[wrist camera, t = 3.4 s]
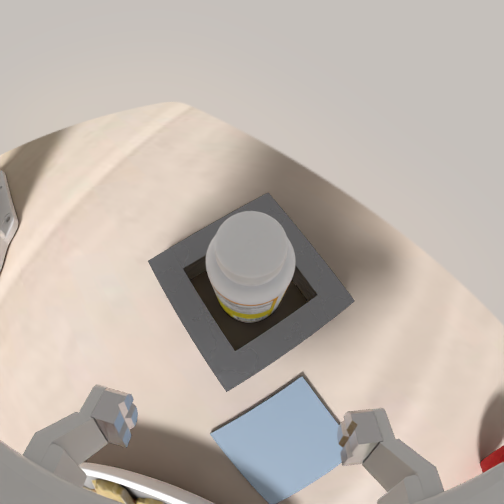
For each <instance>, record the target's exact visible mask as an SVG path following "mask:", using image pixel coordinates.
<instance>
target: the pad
mask: <svg viewBox="0 0 504 504" xmlns="http://www.w3.org/2000/svg"><path fill="white" fill-rule="evenodd" d="M338 427H339V425H338V423H337V422H336V421H335V419H334V418H333V417H332V416H331V414H330V413H329V412H328V410H327V409H326V408H325V406H324V405H323V404H322V402H321V401H320V400H319V398H318V397H317V396H316V394H315V393H314V392H313V390H312V389H311V387H310V386H309V385H308V383H307V382H306V381H305V379H304V378H303V377H302V376H301V377H299V378H298V379H297V380H295V381H294V382H292V383H291V384H290V385H288V386H287V387H285V388H284V389H282V390H281V391H279V392H278V393H276V394H275V395H273V396H272V397H270V398H269V399H267V400H266V401H264V402H263V403H261V404H259V405H258V406H256V407H255V408H253V409H251V410H250V411H248V412H247V413H245V414H243V415H242V416H240V417H238V418H237V419H235V420H233V421H231V422H230V423H228V424H226V425H224V426H223V427H221V428H219V429H217V430H215V431H214V432H212V433H210V435H211V436H212V437H213V439H214V440H215V441H216V443H217V444H218V445H219V447H220V448H221V449H222V450H223V452H224V453H225V454H226V455H227V457H228V458H229V459H230V460H231V462H232V463H233V464H234V465H235V466H236V468H237V469H238V470H239V471H240V472H241V474H242V475H243V476H244V477H245V478H246V479H247V480H248V482H249V483H250V484H251V485H252V486H253V487H254V488H255V489H256V490H257V492H258V493H259V494H260V495H261V496H262V497H263V498H264V499H265V500H266V501H267V502H268V503H269V504H277V503H279V502H280V501H282V500H284V499H286V498H288V497H289V496H291V495H293V494H295V493H296V492H298V491H300V490H301V489H303V488H305V487H306V486H308V485H310V484H311V483H313V482H314V481H316V480H317V479H319V478H320V477H322V476H323V475H325V474H326V473H328V472H329V471H331V470H332V469H333V468H335V467H336V466H338V465H339V464H340V463H342V461H341V456H340V452H341V450H342V448H343V447H341V446H340V445H339V444H338V439H337V432H338Z"/></svg>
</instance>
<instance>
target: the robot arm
mask: <svg viewBox="0 0 504 504" xmlns="http://www.w3.org/2000/svg"><path fill="white" fill-rule="evenodd" d="M17 227H18V219H17V216H16V212H15V209H14V205H13V202H12V198H11V195H10V191H9V187H8V183H7V178H6V174H5V173H4V172H3V171H2V170H1V171H0V271H1V268H2V265H3V261H4V258H5V254H6V250H7V247H8V245H9V243H10V241H11V239H12V238H13V236H14V234H15V232H16V230H17ZM132 402H133V397H132V395H131V394H129V393H125V392H121V391H118V390H114V389H111V388H108V387H104V386H101V385H95V386H94V387H93V389H92V390H91V392H90V394H89V396H88V397H87V399H86V401H85V403H84V404H83V406H82V408H81V410H80V412H79V413H78V412H75V413H73V414H71V415H69V416H67V417H65V418H63V419H61V420H59V421H58V422H56V423H54V424H52V425H50V426H48V427H46V428H44V429H42V430H40V431H38V432H36V433H35V434H34V436H33V438H32V439H31V441H30V443H29V445H28V446H27V448H26V450H25V452H24V454H23V455H21V454H20V453H18V452H17V451H15V450H14V449H12V448H11V447H9V446H8V445H7V444H5V443H4V442H2V441H1V440H0V504H124V503H121V502H118V501H116V500H113V499H110V498H107V497H105V496H102V495H99V494H97V493H94V492H92V491H90V490H87V489H85V488H83V486H84V483H85V481H86V478H87V475H86V473H85V472H84V471H83V470H82V469H81V468H80V467H79V465H80V464H81V463H83V462H84V461H85V460H87V459H88V458H89V457H91V456H92V455H93V454H95V453H96V452H97V451H99V450H100V449H101V448H103V447H104V446H105V445H107V444H108V442H109V443H112V444H116V445H119V446H123V447H126V448H127V446H128V443H129V441H130V438H131V433H130V429H132V428H134V427H135V425H136V422H137V416H138V413H137V408H136V406H135V405H134V404H133V403H132ZM337 439H338V444H339V445H340V446H341V447H343V448H342V450H341V452H340V456H341V461H342V466H346V465H355V464H362V465H363V466H364V467H365V468H366V470H367V471H368V472H369V473H370V474H371V475H372V476H373V477H374V478H375V479H376V480H377V481H378V482H379V483H380V484H381V486H382V487H383V488H384V489H385V490H386V491H387V493H386V494H384V495H383V496H382V497H380V498H379V499H378V501H377V504H504V462H502V463H499V464H498V465H496V466H494V467H492V468H491V469H489V470H487V471H485V472H484V473H482V474H480V475H478V476H476V477H474V478H472V479H470V480H468V481H466V482H464V483H462V484H460V485H458V486H456V487H453V488H451V489H449V490H447V491H444V489H443V486H442V483H441V480H440V477H439V474H438V471H437V469H436V467H435V466H434V465H432V464H431V463H430V462H428V461H427V460H426V459H424V458H423V457H422V456H420V455H419V454H418V453H416V452H415V451H414V450H413V449H411V448H410V447H409V446H407V445H406V444H405V443H403V442H402V441H401V440H400V439H395V436H394V433H393V431H392V428H391V425H390V422H389V419H388V417H387V414H386V411H385V409H384V408H378V409H367V410H358V411H348V412H346V413H345V415H344V421H343V422H341V423H340V425H339V427H338V432H337Z"/></svg>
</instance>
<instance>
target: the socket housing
mask: <svg viewBox="0 0 504 504" xmlns="http://www.w3.org/2000/svg"><path fill="white" fill-rule="evenodd" d="M244 211H257V212H262V213H265V214H267V215H269V216H271V217H273V218H274V219H275V220H277V221H278V222H279V223H280V225H281V226H282V227H283V229H284V231H285V233H286V236H287V238H288V239H289V241H290V242H291V244H292V246H293V249H294V253H295V271H294V274H293V277H292V281H293V282H294V283H295V285H296V286H297V287H298V289H299V290H300V291H301V293H302V294H303V295H304V297H305V298H306V299H307V301H308V302H307V303H306V304H305V305H303V306H302V307H300V308H299V309H298V310H296V311H295V312H293V313H292V314H290V315H289V316H288V317H286V318H285V319H283V320H282V321H280V322H279V323H277V324H276V325H275V326H273V327H272V328H270V329H269V330H267V331H266V332H264V333H263V334H261V335H260V336H258V337H257V338H255V339H253V340H252V341H250V342H249V343H247V344H246V345H244V346H243V347H241V348H240V349H238V350H236V351H235V350H234V349H233V347H232V346H231V344H230V343H229V341H228V340H227V338H226V337H225V335H224V334H223V332H222V331H221V329H220V328H219V326H218V325H217V323H216V322H215V320H214V318H213V317H212V315H211V314H210V312H209V311H208V309H207V307H206V306H205V304H204V303H203V301H202V299H201V298H200V296H199V295H198V293H197V291H196V290H195V288H194V286H193V285H192V283H191V282H190V280H191V279H193V278H194V277H196V276H198V275H199V274H201V273H202V272H204V271H206V253H207V250H208V247H209V244H210V242H211V240H212V239H213V237H214V236H215V235H216V233H217V231H218V229H219V227H220V226H221V225H222V224H223V222H224V221H225V220H226V219H228V218H229V217H231V216H233V215H235V214H237V213H240V212H244ZM148 262H149V264H150V266H151V268H152V270H153V272H154V274H155V276H156V277H157V279H158V281H159V283H160V285H161V287H162V289H163V290H164V292H165V294H166V296H167V298H168V299H169V301H170V303H171V305H172V306H173V308H174V310H175V312H176V313H177V315H178V317H179V318H180V320H181V322H182V324H183V325H184V327H185V329H186V330H187V332H188V334H189V335H190V337H191V338H192V340H193V342H194V343H195V345H196V346H197V348H198V350H199V351H200V353H201V354H202V356H203V357H204V359H205V361H206V362H207V364H208V365H209V367H210V368H211V370H212V371H213V373H214V374H215V376H216V377H217V379H218V380H219V382H220V383H221V385H222V386H223V387H224V389H225V390H226V392H227V391H229V390H231V389H232V388H234V387H236V386H237V385H239V384H240V383H242V382H244V381H245V380H247V379H248V378H250V377H251V376H253V375H255V374H256V373H258V372H259V371H261V370H262V369H264V368H265V367H267V366H268V365H270V364H271V363H273V362H274V361H276V360H277V359H279V358H280V357H281V356H283V355H284V354H286V353H287V352H289V351H290V350H291V349H293V348H294V347H296V346H297V345H298V344H300V343H301V342H303V341H304V340H305V339H307V338H308V337H309V336H311V335H312V334H313V333H315V332H316V331H317V330H319V329H320V328H321V327H323V326H324V325H325V324H327V323H328V322H329V321H331V320H332V319H333V318H334V317H336V316H337V315H338V314H339V313H341V312H342V311H343V310H344V309H346V308H347V307H348V306H349V305H351V304H352V303H353V302H354V299H353V298H352V297H351V295H350V294H349V293H348V291H347V290H346V289H345V287H344V286H343V285H342V283H341V282H340V281H339V279H338V278H337V277H336V275H335V274H334V273H333V272H332V270H331V269H330V268H329V266H328V265H327V264H326V263H325V261H324V260H323V259H322V258H321V256H320V255H319V254H318V252H317V251H316V250H315V249H314V247H313V246H312V245H311V244H310V242H309V241H308V240H307V239H306V237H305V236H304V235H303V234H302V233H301V231H300V230H299V229H298V228H297V226H296V225H295V224H294V223H293V222H292V220H291V219H290V218H289V217H288V215H287V214H286V213H285V212H284V211H283V209H282V208H281V207H280V206H279V205H278V203H277V202H276V201H275V200H274V199H273V198H272V196H271V195H270V194H269V193H266V194H264V195H262V196H261V197H259V198H257V199H255V200H253V201H251V202H250V203H248V204H246V205H244V206H242V207H240V208H239V209H237V210H235V211H233V212H231V213H230V214H228V215H226V216H224V217H222V218H221V219H219V220H217V221H215V222H213V223H212V224H210V225H208V226H206V227H205V228H203V229H201V230H199V231H198V232H196V233H194V234H193V235H191V236H189V237H187V238H186V239H184V240H182V241H181V242H179V243H177V244H175V245H174V246H172V247H170V248H169V249H167V250H165V251H164V252H162V253H160V254H159V255H157V256H155V257H154V258H152V259H150V260H149V261H148Z"/></svg>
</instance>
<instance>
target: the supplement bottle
mask: <svg viewBox="0 0 504 504" xmlns="http://www.w3.org/2000/svg"><path fill="white" fill-rule="evenodd" d="M206 270H207V274H208V277H209V279H210V282H211V284H212V287H213V289H214V292H215V294H216V296H217V299H218V301H219V304H220V306H221V307H222V309H223V310H224V311H225V312H226V313H227V314H228V315H229V316H230V317H232V318H233V319H235V320H238V321H241V322H246V323H253V322H258V321H261V320H264V319H266V318H267V317H269V316H270V315H271V314H272V313H273V312H274V311H275V310H276V309H277V307H278V306H279V304H280V302H281V300H282V298H283V296H284V294H285V292H286V290H287V288H288V286H289V284H290V282H291V280H292V277H293V274H294V271H295V253H294V249H293V246H292V244H291V242H290V241H289V239H288V238H287V236H286V233H285V231H284V229H283V227H282V226H281V225H280V223H279V222H278V221H277V220H275V219H274V218H273V217H271V216H269V215H267V214H265V213H262V212H257V211H244V212H240V213H237V214H235V215H233V216H231V217H229V218H228V219H226V220H225V221H224V222H223V224H222V225H221V226H220V227H219V229H218V231H217V233H216V235H215V236H214V237H213V239H212V240H211V242H210V244H209V247H208V250H207V253H206Z"/></svg>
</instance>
